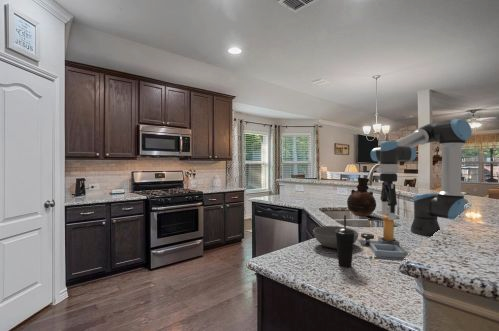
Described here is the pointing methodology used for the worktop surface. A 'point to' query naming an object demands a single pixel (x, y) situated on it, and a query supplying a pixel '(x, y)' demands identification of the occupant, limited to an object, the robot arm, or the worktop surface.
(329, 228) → the bowl
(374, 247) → the tray
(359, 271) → the worktop surface
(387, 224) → the lock pin
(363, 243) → the tensioner plate
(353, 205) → the ceramic vessel
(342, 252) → the drinking cup
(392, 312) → the worktop surface
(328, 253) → the worktop surface
